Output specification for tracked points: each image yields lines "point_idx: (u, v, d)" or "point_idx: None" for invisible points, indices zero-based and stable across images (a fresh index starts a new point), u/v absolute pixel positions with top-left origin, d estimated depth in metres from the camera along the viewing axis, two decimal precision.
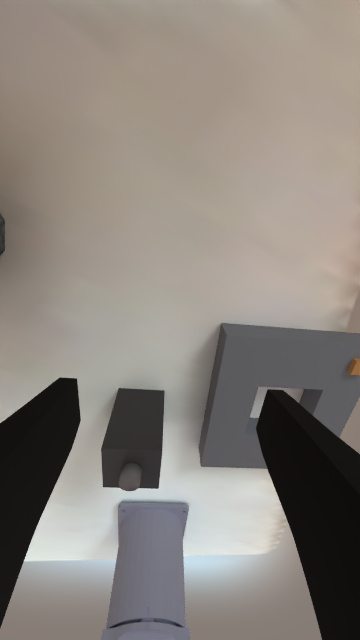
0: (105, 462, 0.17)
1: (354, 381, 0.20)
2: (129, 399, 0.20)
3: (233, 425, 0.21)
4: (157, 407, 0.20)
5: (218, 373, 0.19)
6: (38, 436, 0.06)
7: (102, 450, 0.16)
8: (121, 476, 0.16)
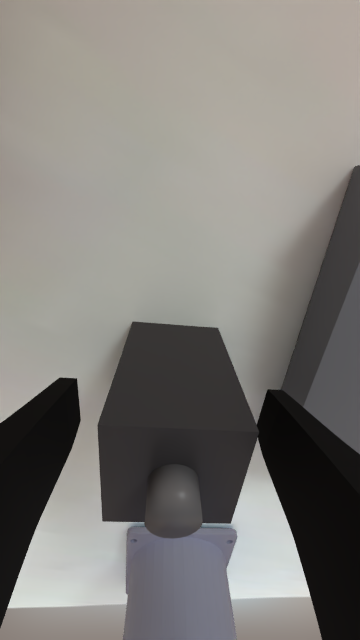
0: (108, 462, 0.06)
1: None
2: (155, 336, 0.10)
3: (356, 391, 0.11)
4: (213, 349, 0.10)
5: (351, 270, 0.09)
6: (38, 436, 0.06)
7: (100, 430, 0.06)
8: (152, 501, 0.06)
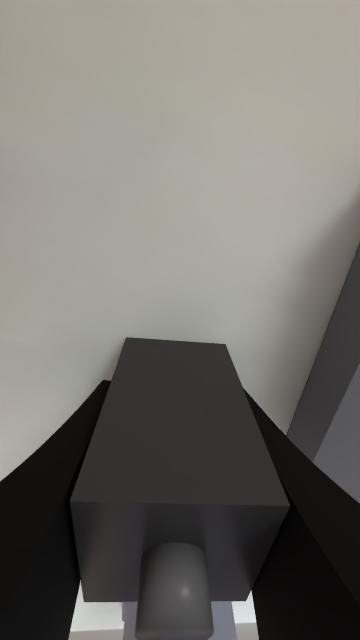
0: (87, 542, 0.05)
1: None
2: (152, 357, 0.09)
3: None
4: (222, 374, 0.08)
5: None
6: None
7: (74, 507, 0.04)
8: (145, 604, 0.04)
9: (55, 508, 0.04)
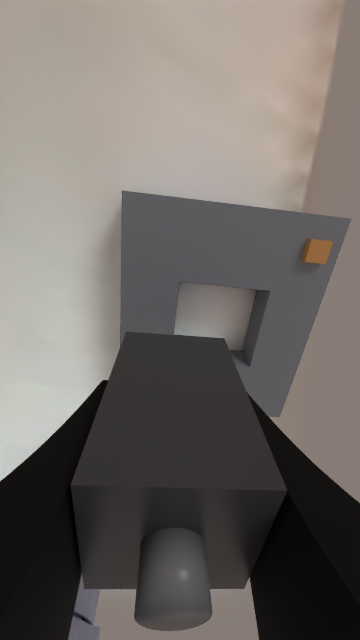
0: (88, 528, 0.05)
1: (312, 277, 0.14)
2: (152, 351, 0.09)
3: None
4: (221, 366, 0.08)
5: None
6: None
7: (75, 491, 0.04)
8: (145, 587, 0.04)
9: (55, 508, 0.04)
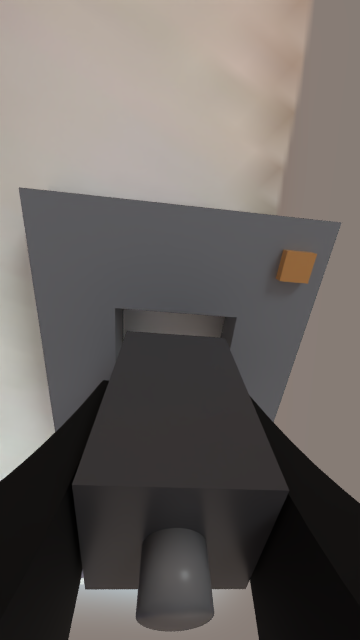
0: (89, 527, 0.05)
1: (291, 300, 0.11)
2: (153, 350, 0.09)
3: (92, 386, 0.12)
4: (222, 366, 0.08)
5: None
6: None
7: (76, 491, 0.04)
8: (146, 587, 0.04)
9: (55, 508, 0.04)
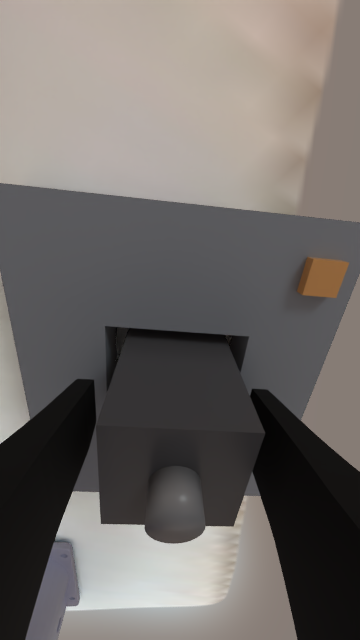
0: (107, 464, 0.06)
1: (314, 316, 0.09)
2: (156, 333, 0.10)
3: None
4: (216, 346, 0.09)
5: None
6: (62, 437, 0.06)
7: (99, 430, 0.06)
8: (153, 504, 0.06)
9: None
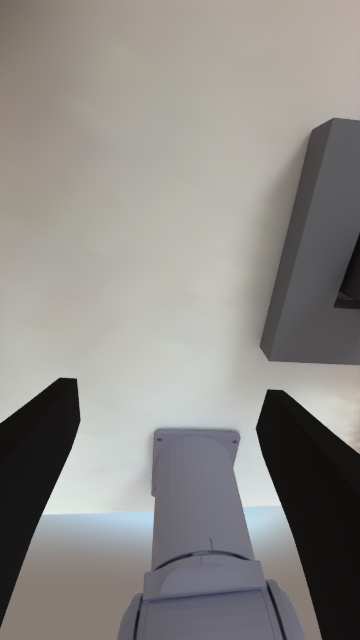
0: None
1: None
2: None
3: (320, 291, 0.16)
4: None
5: (310, 198, 0.14)
6: (38, 436, 0.06)
7: None
8: None
9: None
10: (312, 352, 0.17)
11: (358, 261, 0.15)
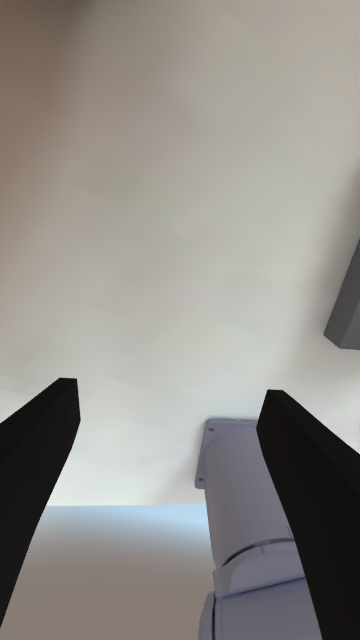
0: None
1: None
2: None
3: None
4: None
5: None
6: (38, 436, 0.06)
7: None
8: None
9: None
10: None
11: None
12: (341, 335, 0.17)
